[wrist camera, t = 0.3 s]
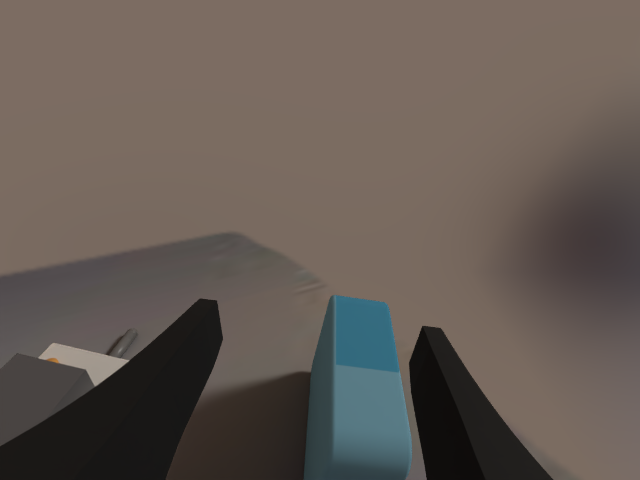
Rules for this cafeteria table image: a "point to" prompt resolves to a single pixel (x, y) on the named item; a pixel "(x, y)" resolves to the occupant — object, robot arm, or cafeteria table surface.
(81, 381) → the power strip
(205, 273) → the cafeteria table surface
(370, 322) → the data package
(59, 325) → the cafeteria table surface
